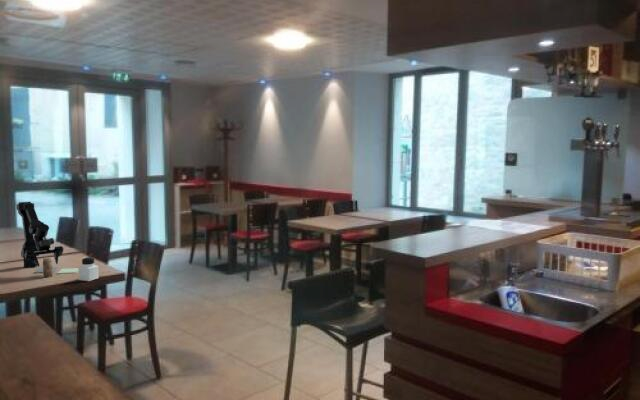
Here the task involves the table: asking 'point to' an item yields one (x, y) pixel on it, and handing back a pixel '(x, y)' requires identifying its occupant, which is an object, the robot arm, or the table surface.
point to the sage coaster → (68, 271)
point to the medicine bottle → (88, 270)
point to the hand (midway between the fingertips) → (48, 264)
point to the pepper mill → (47, 267)
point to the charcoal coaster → (42, 270)
